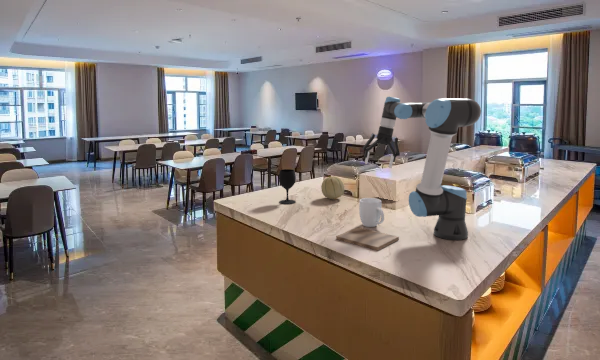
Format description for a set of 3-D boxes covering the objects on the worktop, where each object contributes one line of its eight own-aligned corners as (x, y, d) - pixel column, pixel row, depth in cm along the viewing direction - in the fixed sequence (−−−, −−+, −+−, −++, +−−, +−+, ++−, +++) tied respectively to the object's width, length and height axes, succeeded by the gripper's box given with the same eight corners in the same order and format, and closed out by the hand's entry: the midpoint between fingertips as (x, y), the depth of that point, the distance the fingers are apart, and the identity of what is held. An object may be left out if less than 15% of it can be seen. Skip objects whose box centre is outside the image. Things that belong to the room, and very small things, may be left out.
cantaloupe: (343, 202, 261) (343, 178, 258) (319, 201, 264) (319, 177, 261) (345, 196, 275) (345, 174, 272) (323, 195, 278) (323, 173, 275)
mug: (390, 228, 210) (391, 202, 208) (374, 232, 204) (375, 205, 202) (370, 220, 223) (371, 196, 220) (354, 224, 217) (354, 199, 214)
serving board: (398, 239, 193) (398, 236, 193) (377, 250, 180) (377, 247, 180) (358, 230, 208) (358, 227, 207) (336, 239, 194) (336, 236, 194)
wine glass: (276, 203, 258) (276, 171, 254) (282, 199, 268) (281, 168, 264) (292, 204, 255) (292, 172, 252) (298, 200, 265) (297, 169, 261)
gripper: (406, 129, 228) (397, 167, 233) (362, 121, 225) (354, 160, 230) (411, 131, 221) (402, 170, 226) (365, 123, 217) (357, 163, 222)
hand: (377, 165), depth 228 cm, fingers open, 13 cm apart
